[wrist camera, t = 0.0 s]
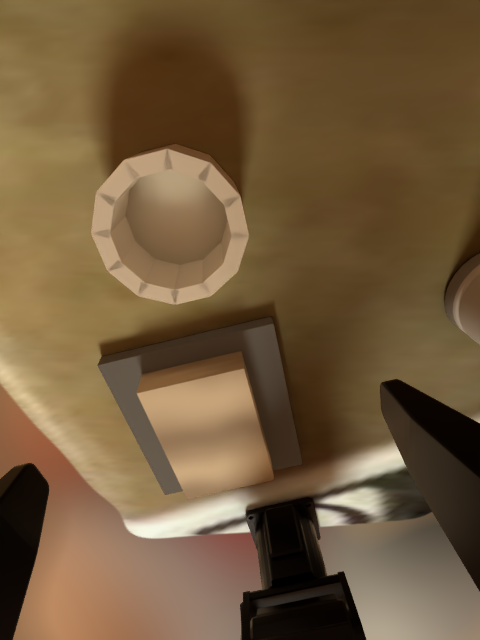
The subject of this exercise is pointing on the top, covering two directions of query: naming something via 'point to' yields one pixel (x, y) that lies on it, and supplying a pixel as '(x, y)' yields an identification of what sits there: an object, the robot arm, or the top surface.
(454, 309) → the travel mug
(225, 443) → the birch board
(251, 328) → the rubber mat
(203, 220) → the ceramic bowl
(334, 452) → the top surface
